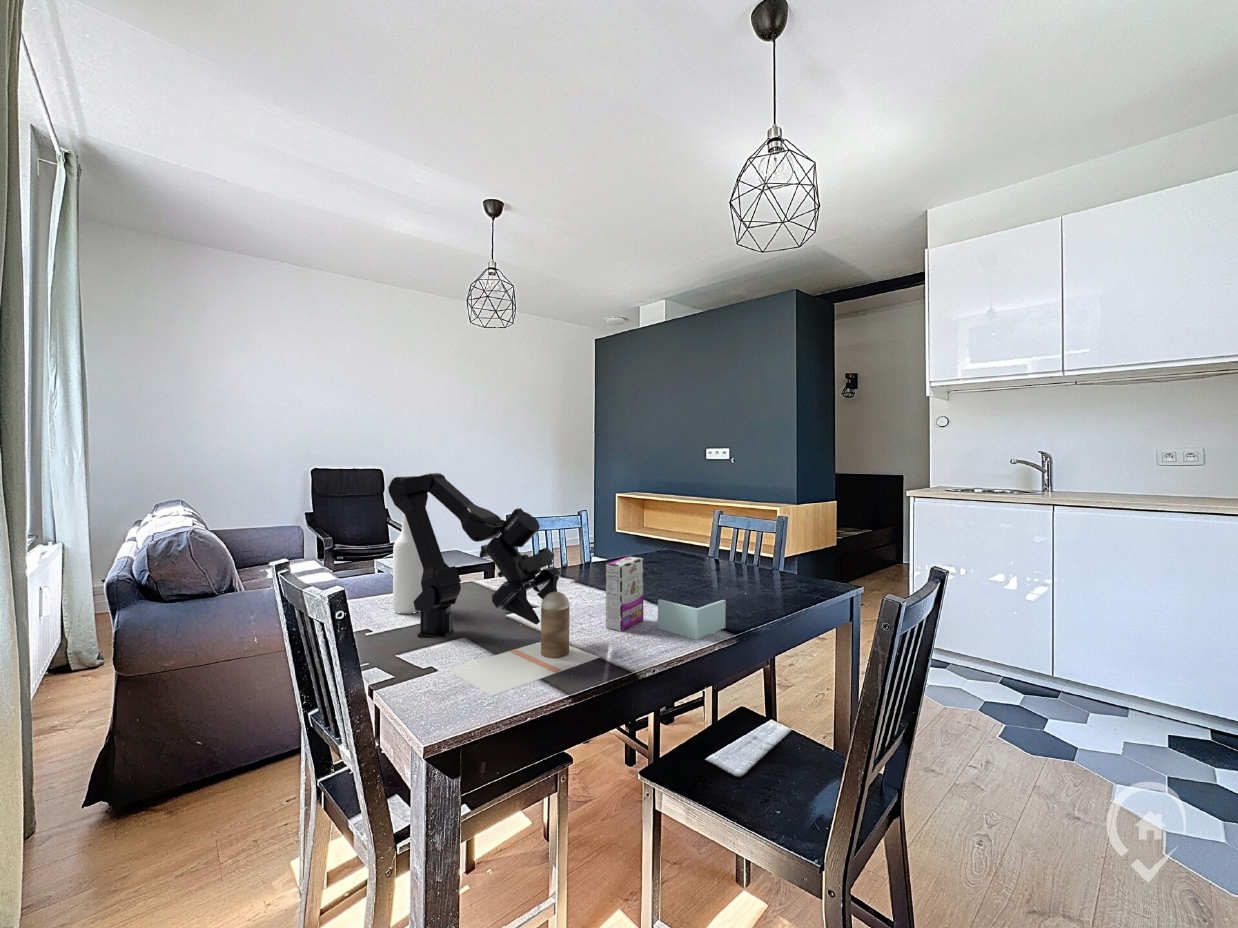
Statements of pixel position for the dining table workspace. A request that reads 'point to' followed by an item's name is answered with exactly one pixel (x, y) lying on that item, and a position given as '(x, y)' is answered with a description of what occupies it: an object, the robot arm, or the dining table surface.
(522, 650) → the mat
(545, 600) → the walnut pin
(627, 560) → the candy bar box
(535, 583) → the robot arm
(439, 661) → the dining table surface
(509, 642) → the dining table surface
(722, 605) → the right angle wall
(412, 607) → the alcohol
